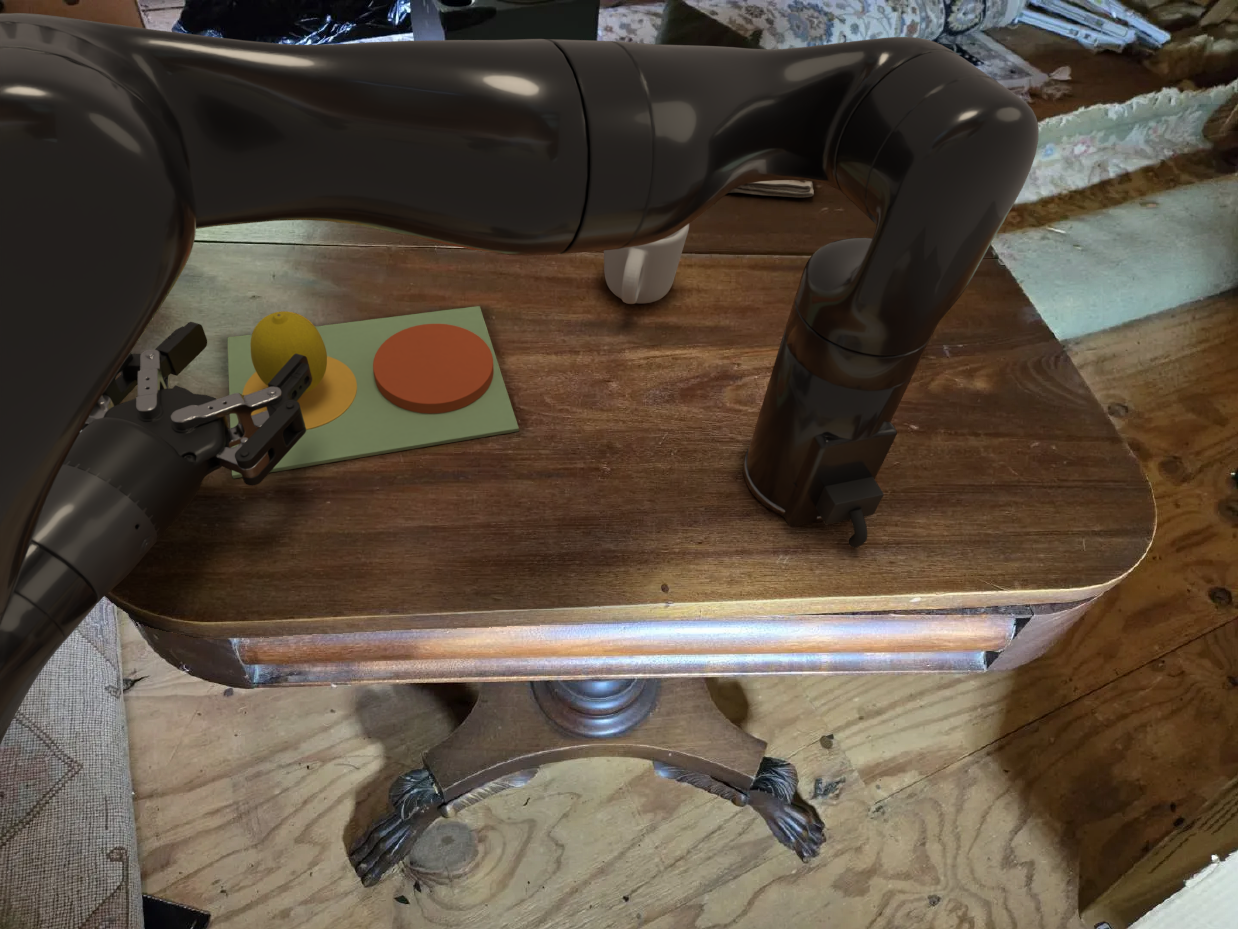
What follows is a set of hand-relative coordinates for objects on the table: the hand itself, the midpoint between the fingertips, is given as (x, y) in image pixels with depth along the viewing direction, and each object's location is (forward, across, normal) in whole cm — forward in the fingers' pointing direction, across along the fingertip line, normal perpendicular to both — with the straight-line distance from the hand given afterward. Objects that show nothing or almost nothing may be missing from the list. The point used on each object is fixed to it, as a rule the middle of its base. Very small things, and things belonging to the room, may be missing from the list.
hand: (251, 347), depth 62 cm
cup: (+28, -22, +8) cm, 36 cm away
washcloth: (+59, -28, +8) cm, 66 cm away
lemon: (+4, 0, +8) cm, 9 cm away
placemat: (+7, -5, +8) cm, 12 cm away
